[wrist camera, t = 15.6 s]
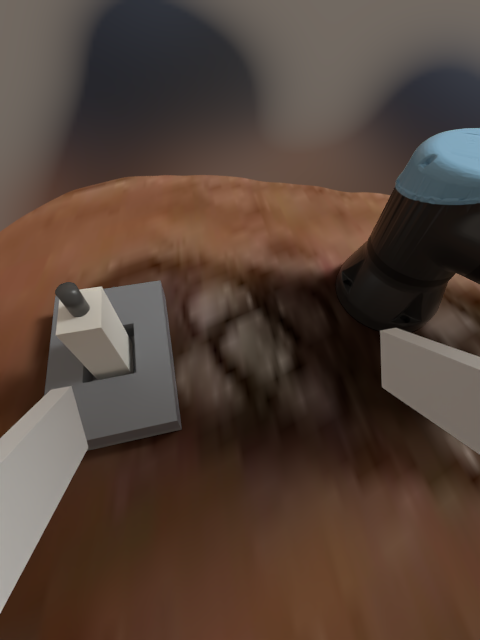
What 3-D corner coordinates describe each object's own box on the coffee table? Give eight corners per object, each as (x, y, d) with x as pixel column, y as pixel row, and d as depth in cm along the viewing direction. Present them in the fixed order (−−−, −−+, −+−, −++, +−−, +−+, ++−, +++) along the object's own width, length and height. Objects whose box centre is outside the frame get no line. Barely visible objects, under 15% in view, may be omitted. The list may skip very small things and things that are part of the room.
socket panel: (165, 297, 47) (160, 280, 43) (181, 429, 36) (177, 420, 33) (68, 312, 45) (55, 296, 41) (56, 457, 34) (37, 451, 31)
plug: (132, 342, 41) (90, 266, 29) (133, 376, 39) (88, 309, 26) (101, 348, 41) (45, 272, 28) (100, 383, 38) (38, 316, 25)
